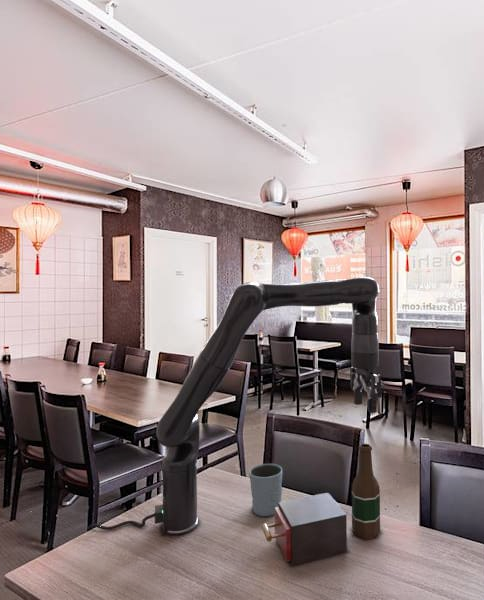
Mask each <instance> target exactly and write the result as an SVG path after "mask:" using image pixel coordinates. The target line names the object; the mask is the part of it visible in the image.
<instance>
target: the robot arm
mask: <svg viewBox="0 0 484 600" xmlns="http://www.w3.org/2000/svg"><path fill="white" fill-rule="evenodd" d="M379 293H380V287H379V284H378V283H377V281H376V280H375V279H374V278H372V277H369V276H362V277H361V276H360V277H353V278H347V279H327V280H326V279H325V280H313V281H305V282H297V283H285V284H283V283H281V284H278V283H277V284H276V283H275V284H273V283H262V282H257V281H247V282H244V283H242V284H240V285H238V286H237V287H236V288H235V289H234V291H233V292H232V294H231V296H230V299H229V301H228V303H227V307H226V309H225V311H224V313H223V315H222V317H221V320H220V321H219V323H218V325H217V327H216V328H215V330H214V331H213V332H212V334H211V335H210V337H209V338H208V339H207V341H206V342H205V344H204V346H203V347H202V349H201V351H200V352H199V354H198V355H197V357H196V359H195V361H194V363H193V364H192V367H191V369H190V371H189V372H188V373H187V376H186V378H185V380H184V382H183V384H182V386H181V388H180V389H179V391H178V393H177V395H176V397H174V400H173V401H172V402H171V404H170V405H169V407H168V408H167V409H166V411H165V412H164V414H163V415H162V416H161V418H160V419H159V421H158V423H157V425H156V438H157V440H158V442H159V444H160V445H161V446H163V447H165V448H167V450H166V452H165V454H164V456H163V457H162V460H161V461H162V463H161V466H162V504H157V505H155V506H154V513H152V514H149V515H146V516H145V517H144V518H143V519H142V520H141V523H140V522H138V521H136V520H126V521H122V522H120V523H118V524H114V525H111V526H105V525H102V524H99V523H92V524H90V525H88V526H87V528H86V530H87V531H88V530H91V529H92V528H98V529H100V530H104V531H112V530H114V529H117V528H120V527H123V526H125V525H134V526H136V527H139V528H143V527H144V526H145V525H146V521H147V520H149V519H152V518H154V524H155V525H157V524H162V535H182V534H185V533H188V532H191V531H192V530H194V529H195V528H196V527H197V526H198V523H199V520H198V519H199V518H198V469H197V465H198V464H197V463H198V462H197V459H198V455H199V451H200V429H201V428H200V427H201V425H200V419H199V416H198V413H199V411H200V410H201V408H202V407H203V405H204V404H205V403H206V402H207V401H208V400H209V398H210V397H211V396H212V395H213V394H214V393H215V391H216V390H217V389H218V388H219V386H221V384H222V382H223V381H224V379H225V378H226V376H227V374H228V372H229V371H230V369H231V367H232V365H233V363H234V362H235V359H236V357H237V354H238V352H239V349H240V347H241V343H242V341H243V339H244V337H245V335H246V333H247V331H249V329H250V327H251V326H252V325H253V323H254V321H255V320H256V319H257V318H258V316H259V315H261V313H262V312H263V311H266V310H270V309H274V308H282V307H313V308H315V307H329V306H339V305H346V304H347V305H349V304H351V309H352V319H351V339H350V342H351V343H350V344H351V345H350V347H351V349H350V351H351V354H350V355H351V356H350V358H351V359H350V360H351V361H350V365H351V367H350V373H349V375H350V380H349V381H350V382H349V387H350V388H352V391H353V403H354V405H356V406H359V405H362V404H363V390H364V392H365V393H366V394H367V412H368V413H369V414H375V413H377V411H378V410H377V401H378V399H379V398H382V396H383V395H382V376H381V375H382V374H376V373H375V369H377V368H379V365H380V361H379V360H380V355H379V354H380V353H379V351H380V348H379V347H380V346H379V345H380V343H379V336H378V335H379V334H378V332H379V331H378V328H379V324H378V323H379V322H378V315H377V312H376V311H377V310H376V309H377V307H376V305H377V303H376V302H377V298H378V295H379ZM101 525H102V526H101ZM100 526H101V527H100Z"/></svg>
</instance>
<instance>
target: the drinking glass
mask: <svg viewBox="0 0 484 600" xmlns="http://www.w3.org/2000/svg"><path fill="white" fill-rule="evenodd" d="M249 481H250V490H251V491H250V492H251V498H252V500H251V501H252V502H251V503H252V510H253V513H254V514H255V515H257V516H260V517H270V516H275V507H278V502H282V494H283V493H282V492H283V486H282V483H283V468H282V466H280V465H279V464H276V463H261V464H257V465H255V466H252V468H251V469H249Z"/></svg>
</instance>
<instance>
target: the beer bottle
mask: <svg viewBox="0 0 484 600" xmlns="http://www.w3.org/2000/svg"><path fill="white" fill-rule="evenodd" d="M358 450H359V457H358V471H357V474H356V476H355V477H354V478H353V481H352V483H351V528H352V531H353V533H354V535H355V536H356V537H358V538H362V539H366V540H367V539H374V538H376V537H377V535H378V534H379V533H380V532H381V490H380V485H379V481H378V480H377V478H376V476H375V475H374V470H373V459H372V451H373V447H372V445H371V444H369V443H361V444H359V446H358Z"/></svg>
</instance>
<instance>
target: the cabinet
mask: <svg viewBox="0 0 484 600" xmlns="http://www.w3.org/2000/svg"><path fill="white" fill-rule="evenodd" d="M278 507H279V508H280V510H281V511H282V513H283V515H284V516H285V518H286V520H287V522H288V524H289V525H290V527H291V561H289V563H290V565H291V566H296V565H299V564H303V563H307V562H308V563H309V562H311V561H316V560H320V559H323V558H324V559H325V558H328V557H331V556H335V555H339V554H343V553H347V551H348V545H347V544H348V543H347V538H348V535H347V533H348V532H347V527H348V525H347V513H346V512H345V511H344V510H343V508H342V507H341V505H339V504H338V502H337V501H336V500H335V499H334V497H333V496H332V495H331V494H330V493H329V492H324V493H317V494H314V495H308V496H302V497H298V498H292V499H287V500H283V501H282V500H281V502H278Z"/></svg>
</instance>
